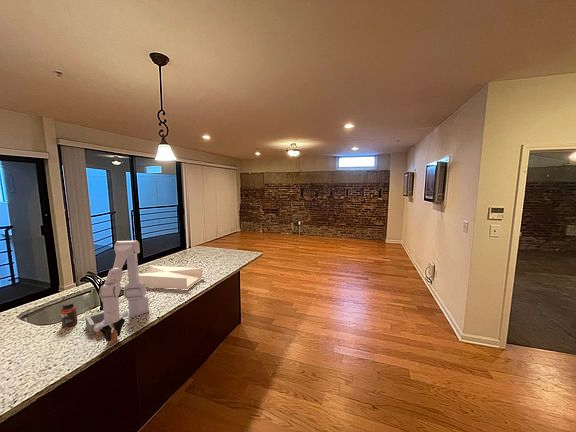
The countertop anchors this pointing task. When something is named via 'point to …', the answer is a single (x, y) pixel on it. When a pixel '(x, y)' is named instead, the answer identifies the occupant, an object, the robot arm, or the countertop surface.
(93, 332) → the slate lane
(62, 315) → the supplement bottle
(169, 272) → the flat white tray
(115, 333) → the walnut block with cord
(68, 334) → the countertop surface
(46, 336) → the countertop surface
